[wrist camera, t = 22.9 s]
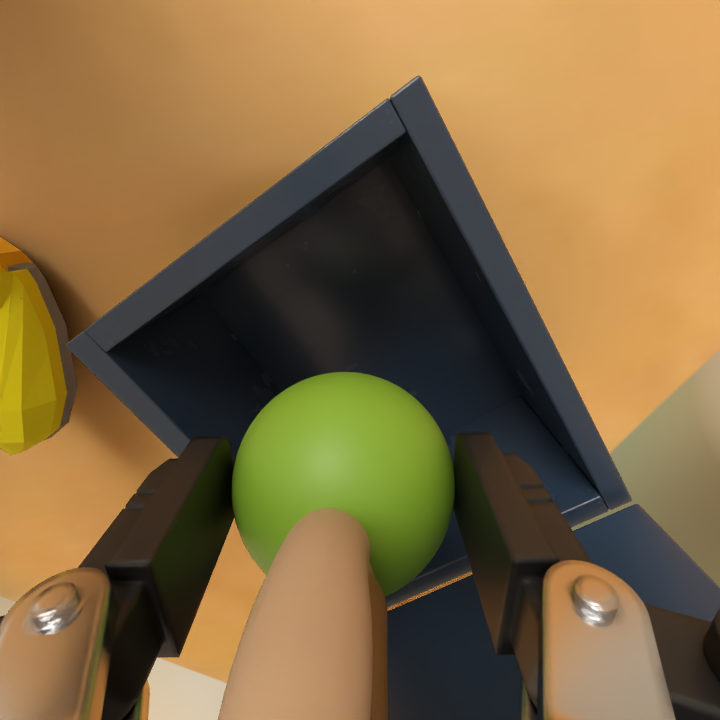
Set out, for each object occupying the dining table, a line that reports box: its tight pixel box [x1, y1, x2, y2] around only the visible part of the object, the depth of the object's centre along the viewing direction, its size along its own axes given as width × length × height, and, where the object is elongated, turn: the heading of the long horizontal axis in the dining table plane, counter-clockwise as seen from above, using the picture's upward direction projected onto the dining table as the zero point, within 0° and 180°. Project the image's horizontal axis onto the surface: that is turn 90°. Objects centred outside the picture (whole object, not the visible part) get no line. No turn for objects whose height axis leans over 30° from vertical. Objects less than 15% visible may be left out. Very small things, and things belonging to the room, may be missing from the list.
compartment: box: [65, 76, 632, 608], centre depth 17 cm, size 16×13×9 cm
